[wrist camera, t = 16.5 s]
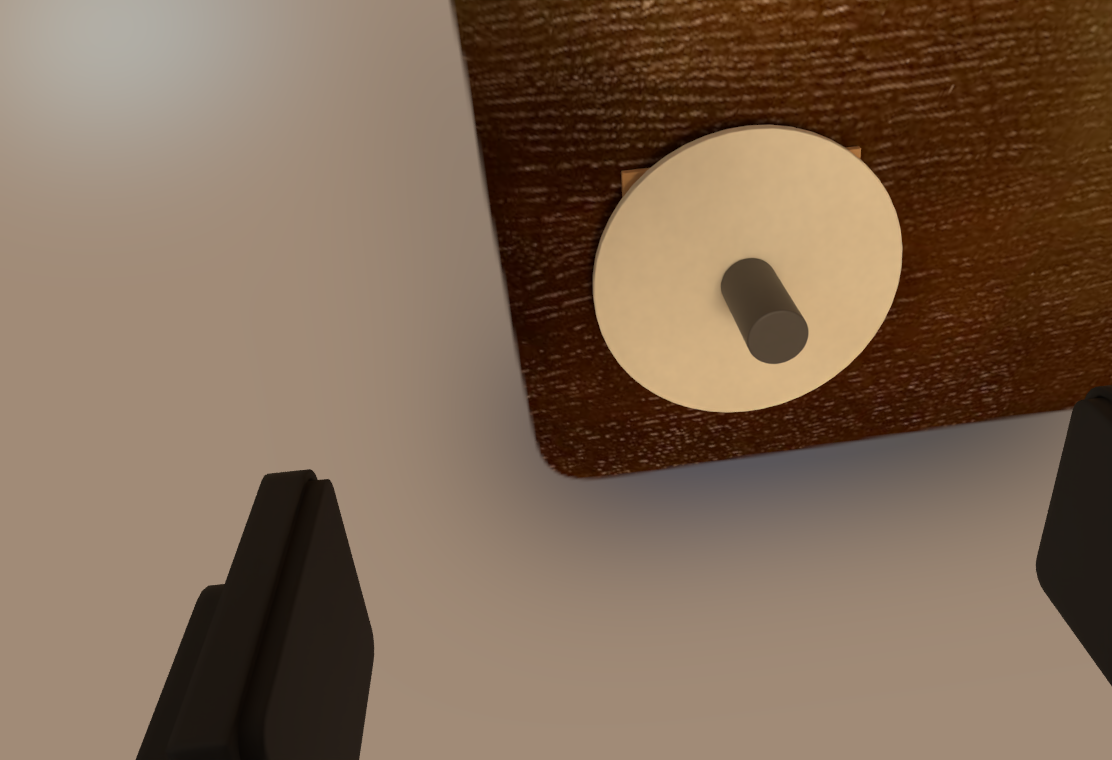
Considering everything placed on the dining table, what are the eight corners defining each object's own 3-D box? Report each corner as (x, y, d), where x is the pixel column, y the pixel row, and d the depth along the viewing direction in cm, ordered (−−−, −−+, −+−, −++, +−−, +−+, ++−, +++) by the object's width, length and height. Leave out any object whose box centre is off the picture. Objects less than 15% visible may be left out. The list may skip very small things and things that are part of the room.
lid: (600, 412, 44) (615, 493, 39) (580, 137, 37) (593, 189, 32) (877, 383, 44) (929, 460, 39) (908, 103, 37) (976, 149, 32)
